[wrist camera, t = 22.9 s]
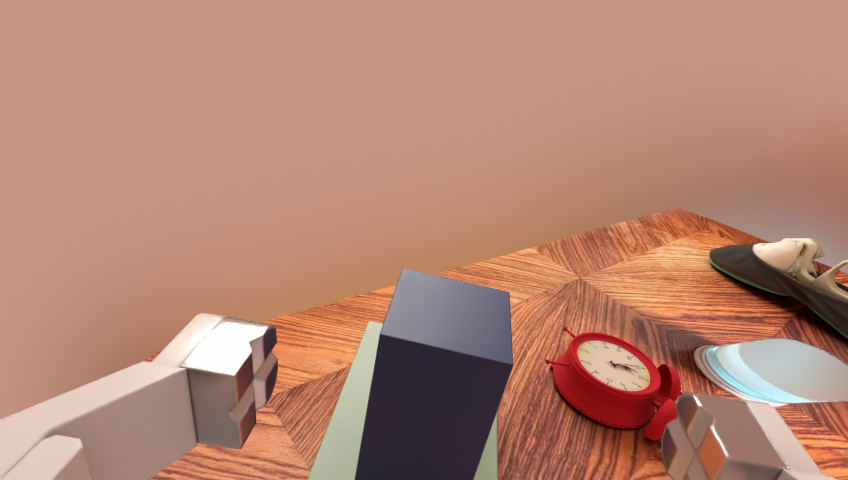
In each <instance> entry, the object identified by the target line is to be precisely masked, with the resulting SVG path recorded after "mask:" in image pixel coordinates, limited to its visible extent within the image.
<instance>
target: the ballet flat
mask: <svg viewBox="0 0 848 480" xmlns="http://www.w3.org/2000/svg"><path fill="white" fill-rule="evenodd" d="M820 257H825V254H824V252H823V250H822V248H821V246H820V244H819V242H818V241H816V240H815V239H808V238H802V239H801V238H800V239H794V238H787V239H783V240H782V241H780V242H777V243H771V244H769V243H760V244H759V243H754V244H750V245H730V246H725V247H721V248H717V249H713V250H711V251H710V260H709V261H710V263H711V264H712V265H713V266H714V267H716V268H717V269H719V270H721V271H723V272H724V273H726V274H728V275H730V276H732V277H734V278H736V279H738V280H740V281H742V282H745V283H747V284H749V285H752V286H755V287H757V288H760V289H763V290H765V291H768V292H771V293H774V294H778V295H783V296H792V297H793V298H795V299H797V300H799V301H801V302H802V303H804V304H806V305H807V306H809V308H810V309H811V310H812V311H814V312H815V313H816V314H817V315H818V316H820V317H821V318H822V319H823V320H824V321H826V322H827V323H828V324H829V325H831V326H832V327H833V328H834V329H836V330H837V331H838V332H840V333H841V334H842V335H843V336H845V337H846V338H847V339H848V287H846V286H844V285H842V284H840V283H838V282H836V281H835V273H836V272H837V271H838V270H839V269H840V268H841V267H843V266H844V265H846V264H847V263H848V260H845V261H843V262H841V263H840V264H839V265H837V266H835V267H833V268H832V269H830V270H829V271H827V272H826V273H824V274H821V273H819V272H817V271H815V270H814V265H813V263H812V262H813V261H814V259H815V258H820Z"/></svg>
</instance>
